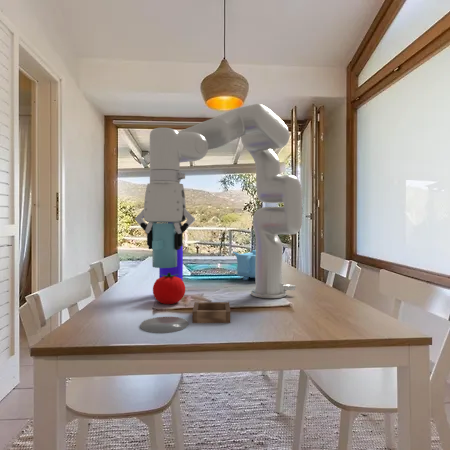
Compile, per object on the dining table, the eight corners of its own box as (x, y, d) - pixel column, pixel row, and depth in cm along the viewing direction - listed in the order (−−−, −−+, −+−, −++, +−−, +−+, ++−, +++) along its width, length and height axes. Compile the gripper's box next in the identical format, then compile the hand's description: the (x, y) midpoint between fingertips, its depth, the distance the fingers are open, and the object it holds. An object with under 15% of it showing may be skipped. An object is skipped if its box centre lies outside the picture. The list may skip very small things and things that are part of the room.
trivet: (189, 320, 101) (189, 316, 100) (186, 334, 89) (186, 330, 88) (145, 320, 100) (145, 316, 100) (136, 334, 88) (136, 330, 88)
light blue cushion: (275, 277, 167) (275, 249, 166) (259, 283, 154) (259, 252, 153) (240, 274, 176) (240, 247, 176) (223, 279, 163) (223, 250, 163)
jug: (157, 264, 97) (157, 222, 97) (179, 264, 96) (179, 223, 96) (142, 270, 87) (142, 223, 87) (167, 270, 86) (167, 224, 86)
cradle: (229, 314, 107) (229, 302, 107) (230, 324, 97) (230, 311, 97) (194, 314, 107) (194, 302, 106) (192, 324, 97) (192, 311, 96)
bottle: (178, 298, 126) (178, 211, 125) (155, 296, 128) (155, 210, 127) (185, 292, 135) (185, 211, 133) (164, 291, 136) (164, 211, 135)
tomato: (149, 301, 121) (149, 271, 121) (180, 299, 125) (180, 269, 125) (156, 309, 112) (156, 276, 111) (189, 306, 115) (189, 274, 115)
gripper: (201, 179, 95) (201, 248, 96) (138, 180, 98) (138, 246, 99) (194, 176, 88) (194, 251, 89) (126, 177, 91) (126, 249, 91)
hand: (164, 248), depth 94 cm, fingers closed on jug, 6 cm apart
